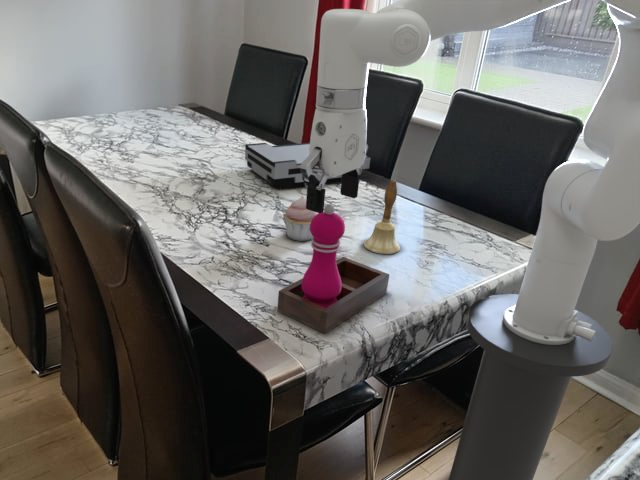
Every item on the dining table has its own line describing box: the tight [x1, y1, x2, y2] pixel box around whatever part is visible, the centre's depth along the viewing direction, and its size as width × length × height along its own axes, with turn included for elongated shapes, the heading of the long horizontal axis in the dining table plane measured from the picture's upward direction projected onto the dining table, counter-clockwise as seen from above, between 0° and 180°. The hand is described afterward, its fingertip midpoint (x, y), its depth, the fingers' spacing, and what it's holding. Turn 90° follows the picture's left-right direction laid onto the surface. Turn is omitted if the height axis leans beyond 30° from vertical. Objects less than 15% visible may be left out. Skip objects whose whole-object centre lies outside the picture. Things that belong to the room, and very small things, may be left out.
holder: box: [277, 256, 390, 335], centre depth 109 cm, size 11×21×4 cm, turn 138°
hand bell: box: [363, 179, 401, 255], centre depth 130 cm, size 8×8×16 cm
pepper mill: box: [301, 203, 346, 308], centre depth 102 cm, size 7×7×20 cm
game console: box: [244, 142, 371, 191], centre depth 177 cm, size 21×32×8 cm, turn 114°
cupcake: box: [282, 195, 318, 242], centre depth 135 cm, size 9×9×10 cm
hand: (332, 203), depth 97 cm, fingers open, 9 cm apart
